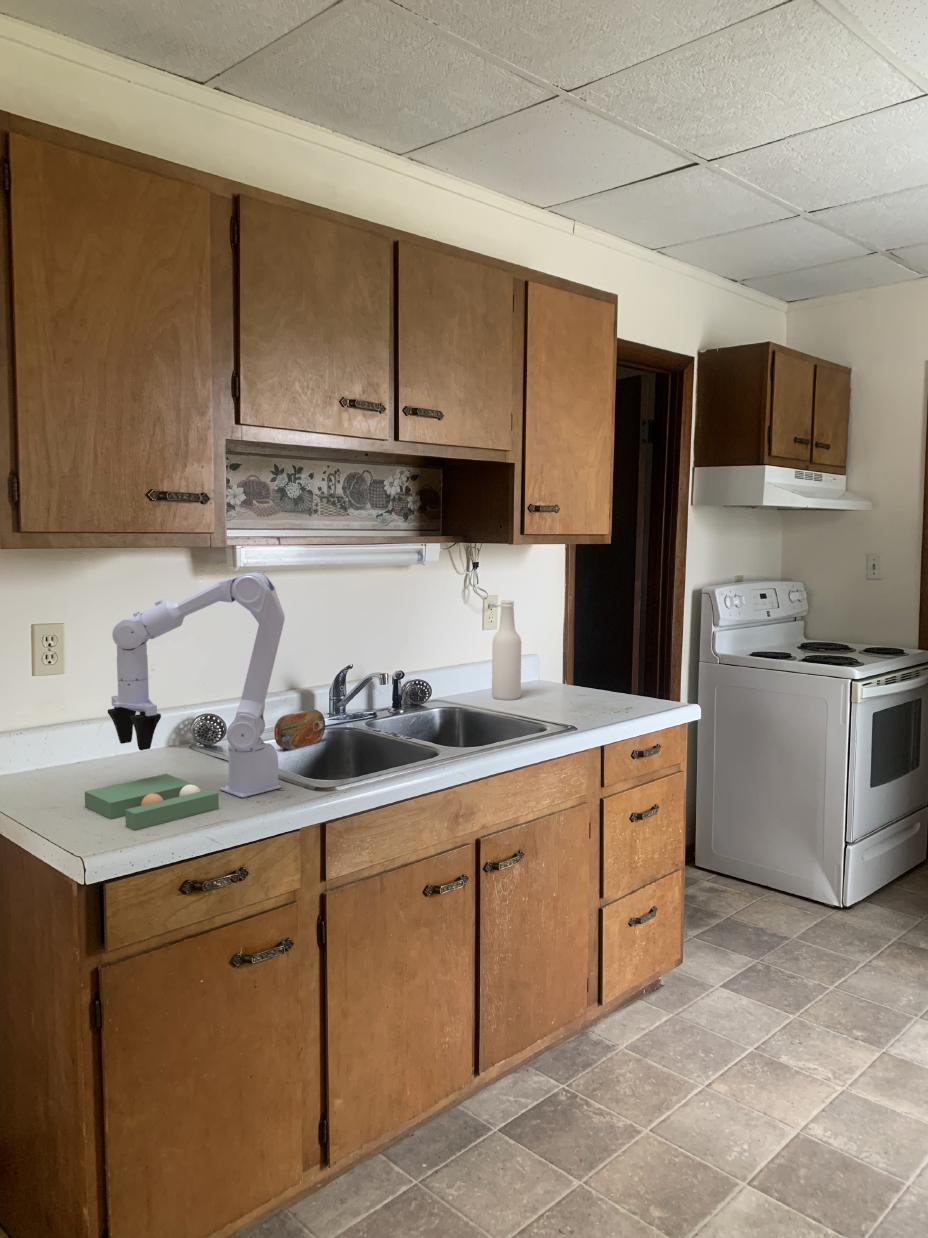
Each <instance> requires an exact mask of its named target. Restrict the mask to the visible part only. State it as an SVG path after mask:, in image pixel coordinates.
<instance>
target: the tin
mask: <svg viewBox="0 0 928 1238" xmlns="http://www.w3.org/2000/svg"><path fill="white" fill-rule="evenodd" d="M273 731H274V740H275V743H276V745H277V746H278V747H279V748H282V749H284V750H289V751H293V750H297V749H301V748H304V747H308V746H312V745H315V744H317V743H318V742H320V741H321V740H322V738H323V737H324V734H325V731H326V720H325V717H324V715H323V713H322V712H321V711H319V710H318V709H305V710H301V711H297V712H294V713H293V712H292V713H288V714H285V715H282V716H281V717H279V719H278V720H277V721H276V723H275V726H274V730H273Z"/></svg>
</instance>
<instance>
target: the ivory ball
mask: <svg viewBox="0 0 928 1238" xmlns="http://www.w3.org/2000/svg"><path fill="white" fill-rule="evenodd" d="M197 792H201V789H200V788H199V787H198V786H197V785H196V784H194V785H186V786H184V787H183V788H182V789H181V791H180V793H179V797H180V796H184V795H189V794H193V793H197Z"/></svg>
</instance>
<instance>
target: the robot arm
mask: <svg viewBox="0 0 928 1238" xmlns="http://www.w3.org/2000/svg"><path fill="white" fill-rule="evenodd" d="M235 601H236V602H237V603H238V604H239V605H240V606H242V607H243V608H244V609H246V610H247V611H249V612H250V614H251V615H252V616H253V618H254V619H255V621H256V622H257V623H258V626H257V632H256V634H255V635H256V636H255V638H254V643H253V649H252V653H251V655H250V656H251V657H250V660H249V665H248V668H247V672H246V677H245V682H244V686H243V690H242V693H241V694H242V695H241V698H240V702H239V704H238V707H237V709H236V714H235V717H234V719H233V721H232V722H231V723H230V724H229V725H228V727H227V730H226V740H227V741H228V745H227V748H228V749H227V751H228V752H227V754H228V755H227V757H228V758H227V759H228V785H225V786H221V787H219V791H223V792H225V793H228V794H231V795H234V796H235V797H239V798H246V797H251V796H254V795H258V794H261V793H266V792H270V791H273V790H277V789H281V784H280V785H279V756H278V753H277V750H276V748H275V746H273V744H271V743H268V742H264V740H263V739H262V737H261V736H262V735H263V733H264V731H265V729H266V723H265V722H266V721H265V718H264V713H265V712H264V711H265V709H266V707H265V706H266V699H267V696H268V695H267V694H268V690H269V687H270V683H271V679H272V675H273V669H274V666H275V662H276V657H277V654H278V649H279V645H280V641H281V636H282V633H283V627H284V625H285V617H286V616H285V613H284V610H283V607H282V604H281V602H280V599H279V597H278V593H277V589H276V586H275V585H274V583H273V582H272V581H271V579H269V577H268V576H267V575H266V574H264V573H263V572H261V571H256V570H255V571H249V572H247V573H244V574H241V575H237V576H234V577H232V578H231V577H230V578H228V579H224V580H221V581H218V582H216V583H214V584H212V585H209V586H208V587H205V588H204V589H202V590H200V591H198V592H196V593H194V594H192V595H191V596H188V597H186V598H184V599H182V600H180V601H178V602H176V601H174V600H170V599H166V600H165V601H164V600H163V599H159V600H157V601H155V602H154V606H151V607H149V608H147V609H145V610H143V611H141V612H140V611H135V612H133V613H132V617H129V618H126V619H125V618H124V619H121V621H120V622H118V623H117V624H115V626H114V627H113V629H112V640H113V642H114V643H115V645H116V669H117V670H116V672H117V674H116V676H117V695H113V696H112V695H111V706H112V707H113V708H109V709H107V714H108V715H109V716H110V718H111V720H112V723H113V725H114V727H115V730H116V731H115V732H116V733H117V738H118V741H119V743H120V744H121V745H123V744H127V743H128V744H129V743H132V740H133V735H134V734H133V732H134V731H135V734H136V735H135V736H136V742H137V747H138V750H139V751H147V750H150V749H151V747H152V742H153V739H154V734H155V730H156V729H157V726H158V724H159V722H160V720H161V719H162V714H161V713H158V706H157V704H155V703H153V701H152V700H150V699H151V698H150V695H149V667H148V662H149V661H148V651H147V650H148V646H147V642H148V641H149V640H154V639H157V638H158V637H160V636H163V635H165V634H166V633H169V632H171V631H174V630H175V629H177V628H180V627H181V626H182V625H183V622H184V619H185V618H186V617H187V616H188V615H191V614H193V613H196V612H198V611H200V610H202V609H205V608H207V607H209V606H212V605H214V604H215V603H218V602H222V603H223V602H224V603H231V604H232V603H234V602H235ZM149 698H150V699H149ZM136 713H139V714H136ZM133 730H134V731H133Z"/></svg>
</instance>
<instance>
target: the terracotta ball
mask: <svg viewBox="0 0 928 1238" xmlns="http://www.w3.org/2000/svg"><path fill="white" fill-rule="evenodd" d="M159 801H163V799H162V797H161V796H160V795H158V794H148V795H147V796H145V797H144V798H143V800H142V803H141V806H143V805H147V804H151V803H155V802H159Z"/></svg>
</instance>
